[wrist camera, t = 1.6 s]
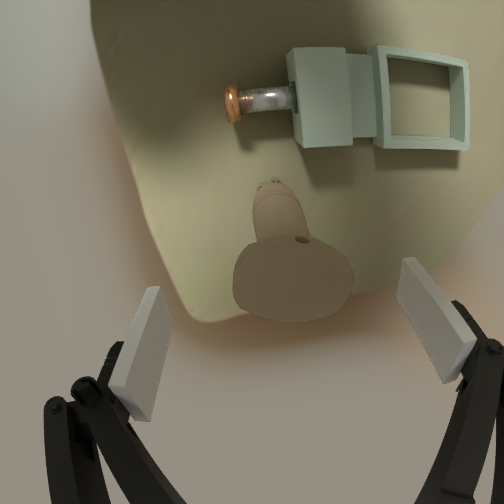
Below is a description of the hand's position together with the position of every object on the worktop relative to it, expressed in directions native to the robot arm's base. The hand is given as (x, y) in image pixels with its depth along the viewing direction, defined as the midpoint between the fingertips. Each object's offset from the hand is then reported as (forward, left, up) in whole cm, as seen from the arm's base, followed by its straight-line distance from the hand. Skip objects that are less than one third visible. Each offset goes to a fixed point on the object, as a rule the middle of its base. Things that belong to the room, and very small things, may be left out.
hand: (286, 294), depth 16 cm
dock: (-9, +12, -15) cm, 22 cm away
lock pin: (-9, +1, -14) cm, 17 cm away
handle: (0, +1, -15) cm, 15 cm away
